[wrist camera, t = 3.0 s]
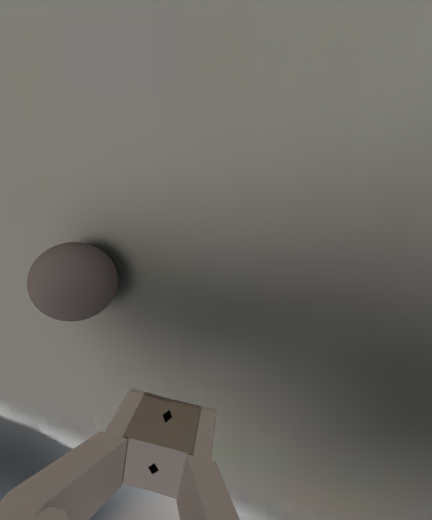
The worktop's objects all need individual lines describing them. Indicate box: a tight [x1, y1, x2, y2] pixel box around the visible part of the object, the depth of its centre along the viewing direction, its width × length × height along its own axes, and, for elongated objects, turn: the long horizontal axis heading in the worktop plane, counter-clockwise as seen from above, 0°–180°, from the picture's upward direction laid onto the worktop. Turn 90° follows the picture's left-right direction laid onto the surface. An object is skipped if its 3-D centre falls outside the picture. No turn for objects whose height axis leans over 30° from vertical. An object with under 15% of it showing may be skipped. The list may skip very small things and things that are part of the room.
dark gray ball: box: [27, 242, 118, 321], centre depth 16 cm, size 5×5×5 cm
